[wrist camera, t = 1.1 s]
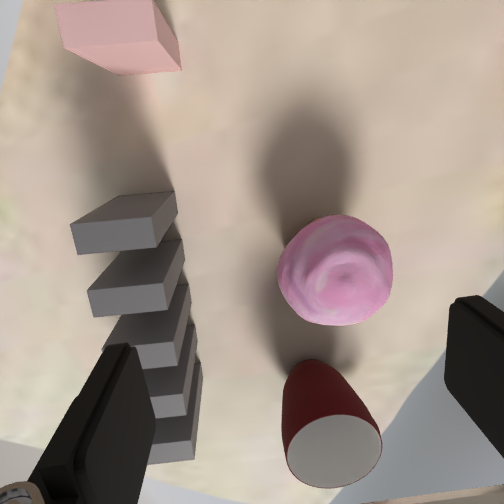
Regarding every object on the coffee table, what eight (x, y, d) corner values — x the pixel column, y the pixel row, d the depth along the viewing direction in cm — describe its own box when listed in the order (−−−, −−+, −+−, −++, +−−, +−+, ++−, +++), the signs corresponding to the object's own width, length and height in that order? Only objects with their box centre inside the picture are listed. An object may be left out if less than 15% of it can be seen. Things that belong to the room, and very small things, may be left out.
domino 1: (117, 196, 32) (69, 224, 22) (174, 191, 32) (151, 216, 22) (122, 218, 32) (77, 254, 23) (178, 213, 32) (156, 247, 23)
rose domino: (113, 47, 28) (53, 4, 18) (177, 42, 28) (151, -4, 19) (118, 75, 29) (63, 48, 19) (181, 70, 29) (157, 40, 19)
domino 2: (127, 244, 33) (86, 290, 24) (182, 239, 33) (162, 283, 24) (131, 264, 34) (93, 317, 24) (185, 259, 34) (167, 309, 24)
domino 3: (136, 289, 34) (101, 349, 25) (188, 283, 35) (173, 341, 25) (140, 307, 35) (107, 372, 26) (191, 302, 35) (177, 365, 26)
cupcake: (316, 181, 32) (352, 202, 23) (380, 241, 34) (437, 283, 25) (251, 253, 34) (259, 300, 25) (315, 305, 36) (346, 367, 27)
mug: (378, 360, 39) (426, 434, 29) (346, 417, 41) (381, 503, 32) (289, 333, 37) (309, 402, 28) (260, 394, 39) (270, 477, 30)
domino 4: (145, 329, 36) (114, 401, 26) (194, 324, 36) (182, 393, 27) (148, 346, 37) (120, 422, 27) (197, 341, 37) (186, 415, 27)
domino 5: (152, 367, 37) (126, 447, 28) (200, 362, 38) (190, 440, 28) (155, 383, 38) (131, 466, 29) (203, 378, 38) (194, 459, 29)
